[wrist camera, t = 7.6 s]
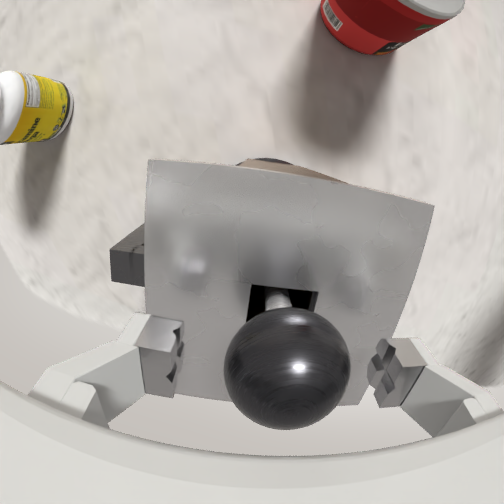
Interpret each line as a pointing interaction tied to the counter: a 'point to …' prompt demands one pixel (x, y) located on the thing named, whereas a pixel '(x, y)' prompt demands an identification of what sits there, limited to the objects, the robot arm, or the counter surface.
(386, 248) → the cafetiere
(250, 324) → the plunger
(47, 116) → the pill bottle
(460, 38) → the counter surface
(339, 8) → the canned food
